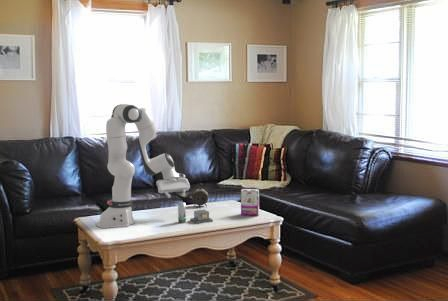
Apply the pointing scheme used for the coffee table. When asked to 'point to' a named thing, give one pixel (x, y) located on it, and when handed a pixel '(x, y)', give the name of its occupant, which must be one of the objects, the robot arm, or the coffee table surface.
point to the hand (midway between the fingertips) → (176, 196)
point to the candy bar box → (250, 202)
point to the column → (181, 212)
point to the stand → (201, 216)
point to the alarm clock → (200, 196)
